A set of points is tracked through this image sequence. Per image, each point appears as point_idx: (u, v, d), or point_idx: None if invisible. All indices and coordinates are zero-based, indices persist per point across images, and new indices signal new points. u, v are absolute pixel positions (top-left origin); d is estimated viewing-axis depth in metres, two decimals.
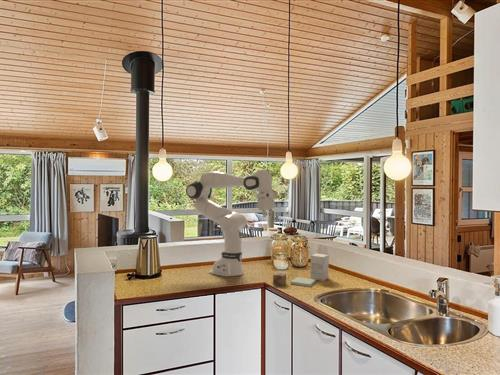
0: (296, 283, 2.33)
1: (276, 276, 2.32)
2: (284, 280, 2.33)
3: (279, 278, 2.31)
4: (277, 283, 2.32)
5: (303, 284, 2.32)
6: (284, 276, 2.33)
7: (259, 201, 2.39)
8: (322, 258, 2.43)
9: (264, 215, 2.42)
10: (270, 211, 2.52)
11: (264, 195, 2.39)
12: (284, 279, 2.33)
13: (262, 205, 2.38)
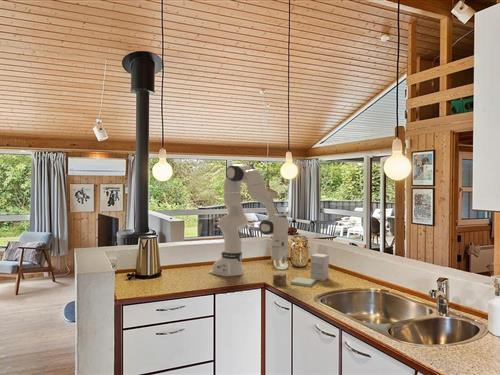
0: (296, 283, 2.33)
1: (276, 276, 2.32)
2: (284, 280, 2.33)
3: (279, 278, 2.31)
4: (277, 283, 2.32)
5: (303, 284, 2.32)
6: (284, 276, 2.33)
7: (274, 250, 2.25)
8: (322, 258, 2.43)
9: (277, 264, 2.29)
10: (283, 258, 2.39)
11: (279, 244, 2.25)
12: (284, 279, 2.33)
13: (276, 255, 2.24)
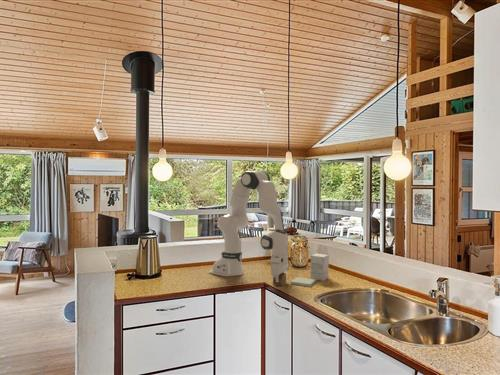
0: (296, 283, 2.33)
1: None
2: (284, 280, 2.33)
3: (279, 278, 2.31)
4: (277, 283, 2.32)
5: (303, 284, 2.32)
6: (284, 276, 2.33)
7: (273, 266, 2.26)
8: (322, 258, 2.43)
9: (277, 280, 2.30)
10: None
11: (278, 261, 2.25)
12: (284, 279, 2.33)
13: (276, 271, 2.25)
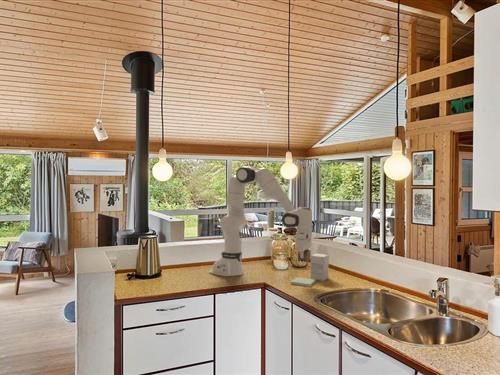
0: (296, 283, 2.33)
1: None
2: (309, 256, 2.36)
3: (304, 254, 2.34)
4: (302, 259, 2.35)
5: (303, 284, 2.32)
6: (309, 252, 2.36)
7: (298, 242, 2.29)
8: (322, 258, 2.43)
9: (302, 256, 2.33)
10: None
11: (304, 236, 2.28)
12: (309, 255, 2.36)
13: (301, 247, 2.28)
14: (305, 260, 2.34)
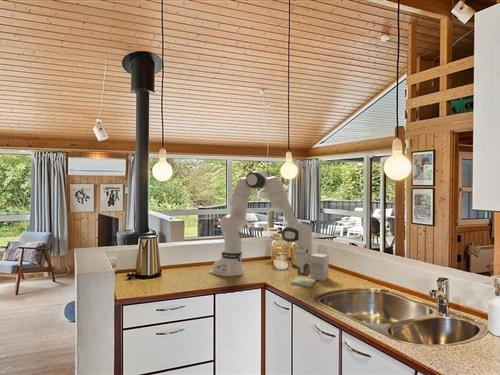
0: (296, 283, 2.33)
1: None
2: (308, 271, 2.37)
3: None
4: (302, 273, 2.35)
5: (303, 284, 2.32)
6: (308, 267, 2.36)
7: (298, 257, 2.29)
8: (322, 258, 2.43)
9: (301, 271, 2.34)
10: None
11: (304, 251, 2.29)
12: (308, 270, 2.36)
13: (301, 262, 2.28)
14: (305, 275, 2.34)
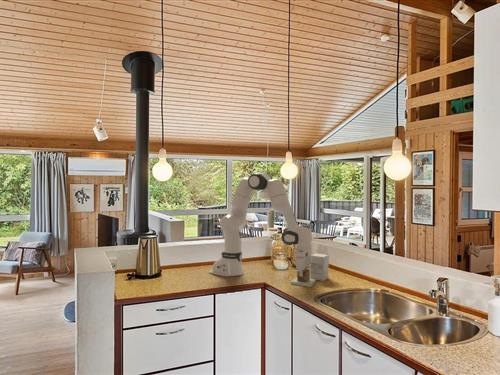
0: (296, 283, 2.33)
1: None
2: (308, 276, 2.37)
3: (303, 274, 2.35)
4: (301, 279, 2.35)
5: (303, 284, 2.32)
6: (308, 272, 2.36)
7: (298, 260, 2.29)
8: (322, 258, 2.43)
9: (301, 274, 2.33)
10: (306, 268, 2.43)
11: (303, 255, 2.29)
12: (308, 275, 2.37)
13: (301, 265, 2.28)
14: (304, 280, 2.34)
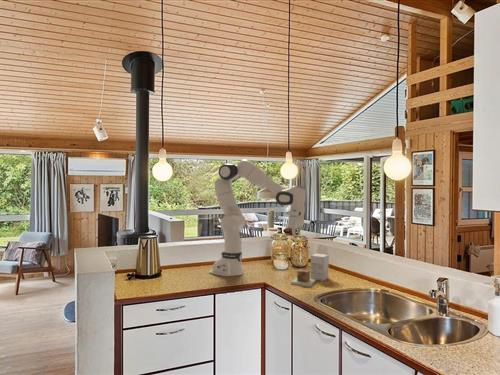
0: (296, 283, 2.33)
1: (300, 272, 2.35)
2: (308, 276, 2.37)
3: (303, 274, 2.35)
4: (301, 279, 2.35)
5: (303, 284, 2.32)
6: (308, 272, 2.36)
7: (291, 219, 2.36)
8: (322, 258, 2.43)
9: (293, 233, 2.40)
10: (299, 228, 2.50)
11: (296, 214, 2.36)
12: (308, 275, 2.37)
13: (293, 223, 2.35)
14: (304, 280, 2.34)
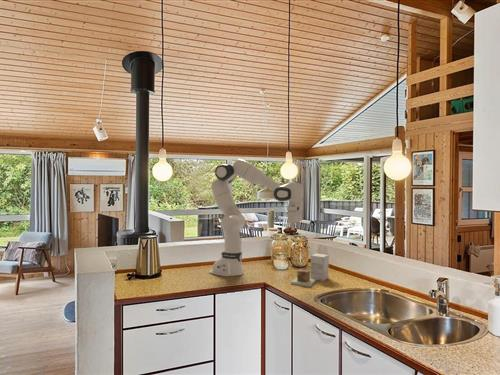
0: (296, 283, 2.33)
1: (300, 272, 2.35)
2: (308, 276, 2.37)
3: (303, 274, 2.35)
4: (301, 279, 2.35)
5: (303, 284, 2.32)
6: (308, 272, 2.36)
7: (289, 214, 2.38)
8: (322, 258, 2.43)
9: (292, 228, 2.42)
10: (297, 223, 2.52)
11: (295, 208, 2.38)
12: (308, 275, 2.37)
13: (292, 218, 2.37)
14: (304, 280, 2.34)
